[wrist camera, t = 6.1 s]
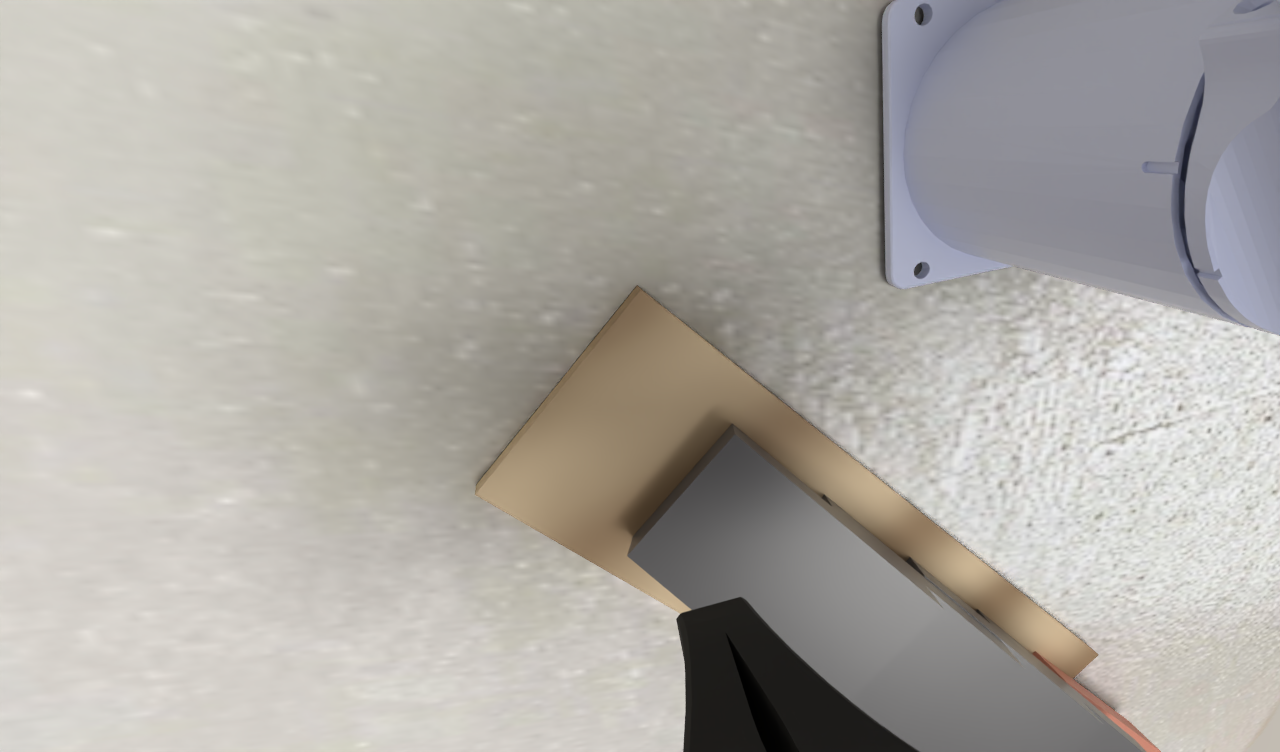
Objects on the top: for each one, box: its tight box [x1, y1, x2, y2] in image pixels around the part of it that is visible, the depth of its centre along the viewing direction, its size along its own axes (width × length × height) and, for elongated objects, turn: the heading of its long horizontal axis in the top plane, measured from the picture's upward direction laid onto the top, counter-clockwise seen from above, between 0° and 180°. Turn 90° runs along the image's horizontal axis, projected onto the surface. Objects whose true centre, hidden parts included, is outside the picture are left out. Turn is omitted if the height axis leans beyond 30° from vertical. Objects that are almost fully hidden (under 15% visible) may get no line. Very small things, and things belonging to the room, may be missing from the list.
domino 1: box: [627, 423, 944, 701], centre depth 20 cm, size 2×5×8 cm
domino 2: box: [822, 494, 1026, 752], centre depth 22 cm, size 2×5×8 cm
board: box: [475, 286, 1098, 679], centre depth 24 cm, size 26×8×1 cm, turn 50°
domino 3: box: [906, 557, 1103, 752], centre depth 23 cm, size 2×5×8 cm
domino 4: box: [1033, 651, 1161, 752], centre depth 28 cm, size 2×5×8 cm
